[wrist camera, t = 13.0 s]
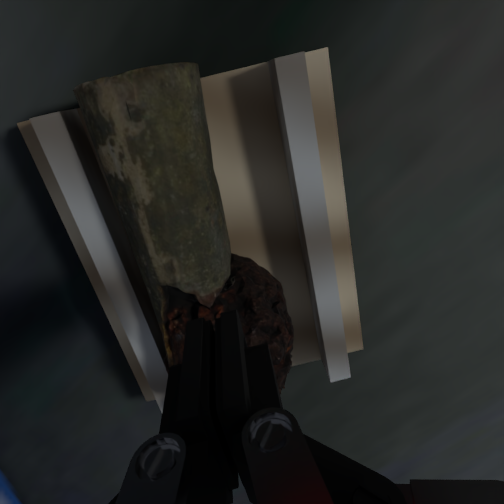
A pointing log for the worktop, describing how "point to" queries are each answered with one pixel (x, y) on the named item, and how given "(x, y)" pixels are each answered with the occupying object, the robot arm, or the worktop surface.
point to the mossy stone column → (179, 208)
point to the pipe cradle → (229, 209)
